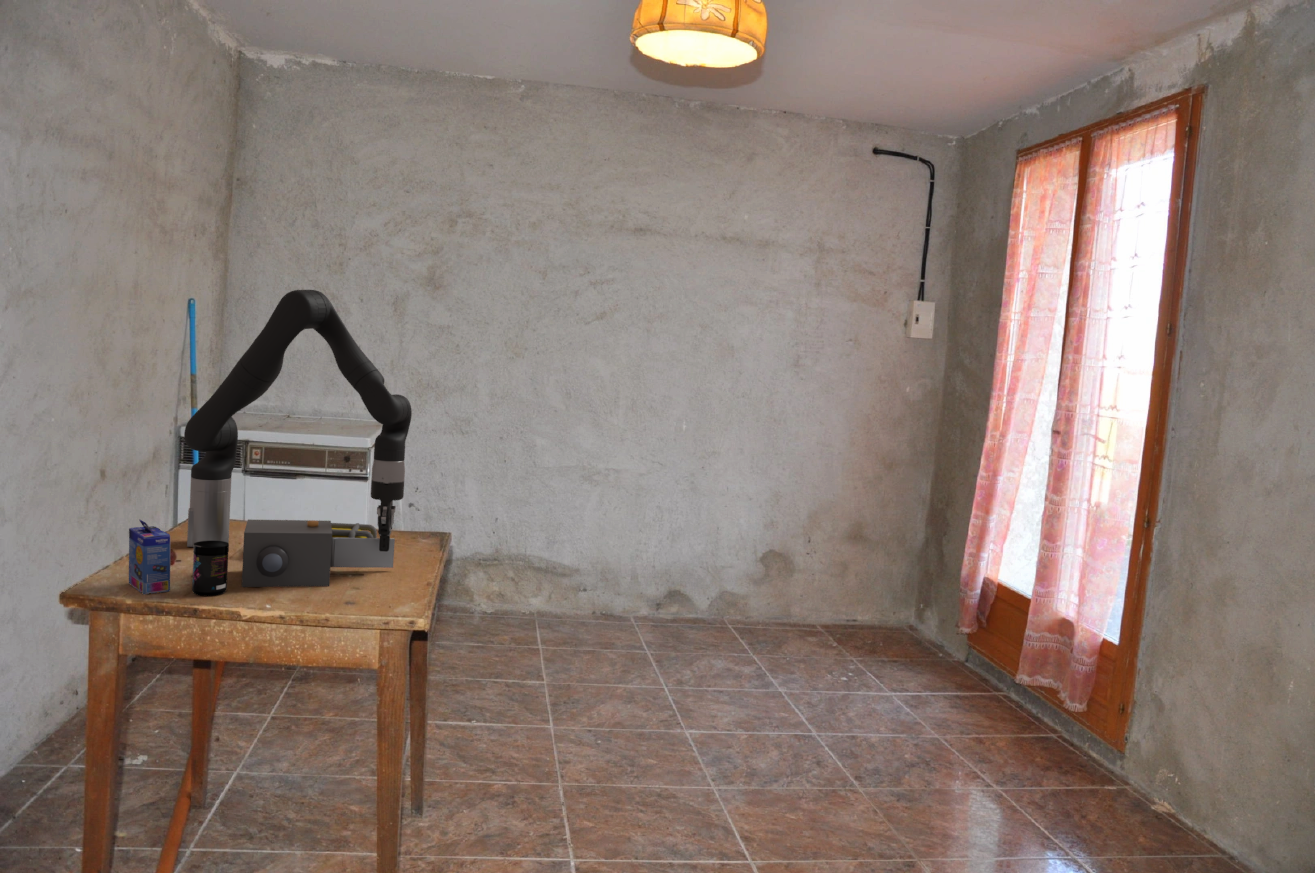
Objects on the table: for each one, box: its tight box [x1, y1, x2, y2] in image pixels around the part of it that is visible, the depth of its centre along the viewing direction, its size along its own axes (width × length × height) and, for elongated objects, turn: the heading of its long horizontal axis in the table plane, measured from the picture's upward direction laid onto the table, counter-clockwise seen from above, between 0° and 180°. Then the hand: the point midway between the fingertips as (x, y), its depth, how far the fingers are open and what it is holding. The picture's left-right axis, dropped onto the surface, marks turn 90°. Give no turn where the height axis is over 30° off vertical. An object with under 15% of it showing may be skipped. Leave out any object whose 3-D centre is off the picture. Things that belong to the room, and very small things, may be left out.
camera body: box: [241, 519, 332, 588], centre depth 212 cm, size 18×17×13 cm
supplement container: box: [191, 541, 230, 597], centre depth 198 cm, size 7×7×10 cm
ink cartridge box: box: [128, 519, 171, 595], centre depth 198 cm, size 10×6×14 cm, turn 46°
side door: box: [330, 537, 396, 568], centre depth 226 cm, size 1×14×7 cm, turn 108°
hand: (384, 550), depth 225 cm, fingers closed
